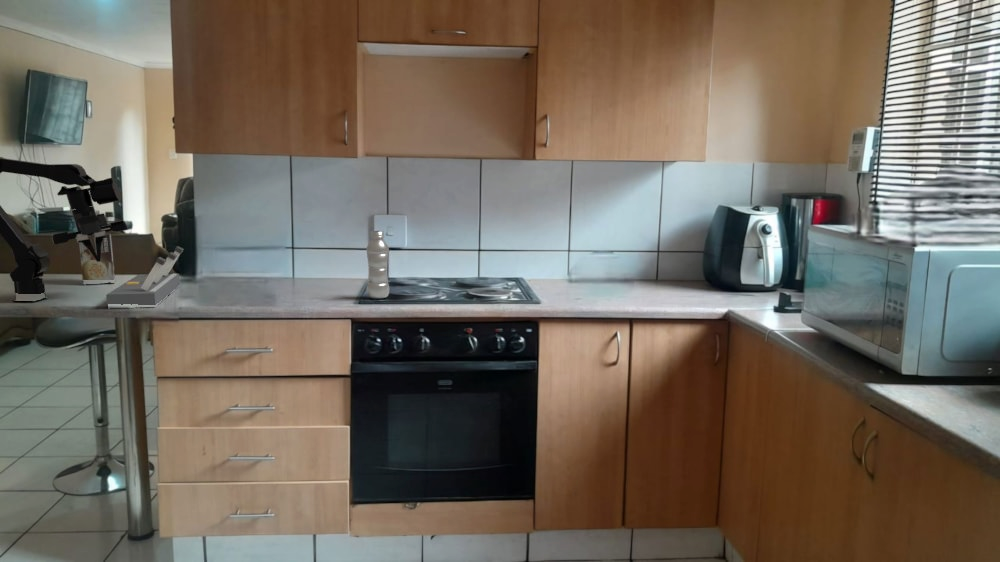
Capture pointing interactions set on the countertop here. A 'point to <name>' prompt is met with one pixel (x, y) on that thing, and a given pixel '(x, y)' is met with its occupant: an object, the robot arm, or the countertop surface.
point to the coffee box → (91, 266)
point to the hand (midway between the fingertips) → (98, 261)
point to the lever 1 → (153, 273)
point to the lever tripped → (165, 266)
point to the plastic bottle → (377, 266)
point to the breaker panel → (143, 291)
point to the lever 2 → (177, 251)
